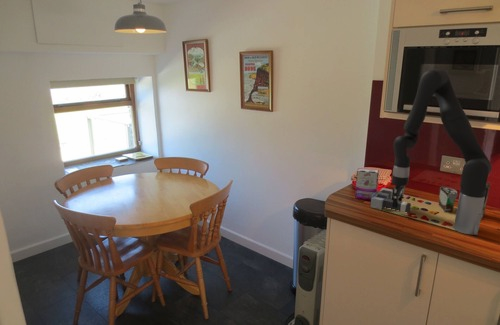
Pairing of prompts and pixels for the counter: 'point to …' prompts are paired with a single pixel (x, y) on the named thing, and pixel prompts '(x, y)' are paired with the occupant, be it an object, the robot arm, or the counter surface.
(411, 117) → the robot arm
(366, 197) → the candy bar box
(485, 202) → the coffee box
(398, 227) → the counter surface
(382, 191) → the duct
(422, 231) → the counter surface
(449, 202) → the food container
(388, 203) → the dark grey bar
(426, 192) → the counter surface
